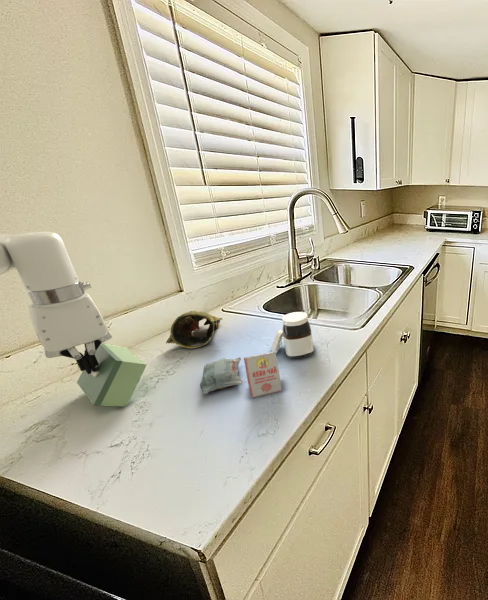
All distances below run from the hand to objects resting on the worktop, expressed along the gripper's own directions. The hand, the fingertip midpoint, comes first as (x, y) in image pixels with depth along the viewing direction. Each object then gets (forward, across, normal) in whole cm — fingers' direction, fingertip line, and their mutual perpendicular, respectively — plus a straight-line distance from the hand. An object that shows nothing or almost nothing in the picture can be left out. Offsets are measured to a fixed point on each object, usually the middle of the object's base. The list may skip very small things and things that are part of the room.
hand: (91, 370), depth 73 cm
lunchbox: (+6, 0, 0) cm, 7 cm away
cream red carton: (+9, -24, +28) cm, 38 cm away
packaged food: (+9, -20, +16) cm, 27 cm away
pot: (+9, -27, -12) cm, 31 cm away
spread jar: (+9, -39, +18) cm, 44 cm away
